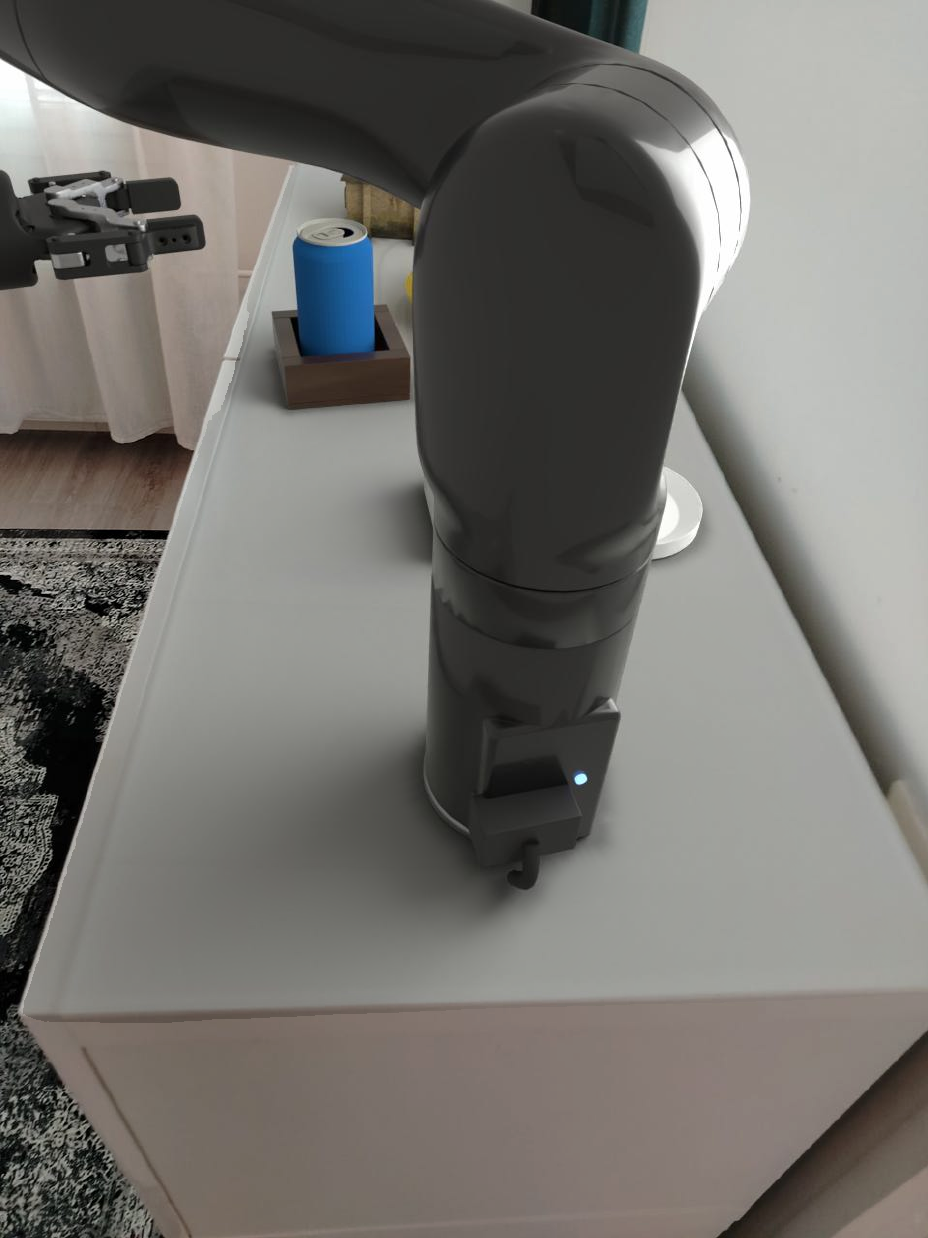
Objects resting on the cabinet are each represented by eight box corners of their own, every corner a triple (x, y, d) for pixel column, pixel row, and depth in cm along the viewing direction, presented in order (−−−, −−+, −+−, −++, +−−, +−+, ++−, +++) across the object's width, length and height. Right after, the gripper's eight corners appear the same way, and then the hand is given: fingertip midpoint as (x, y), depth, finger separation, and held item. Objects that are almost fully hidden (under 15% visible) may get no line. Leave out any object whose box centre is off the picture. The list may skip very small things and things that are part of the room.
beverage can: (389, 371, 80) (389, 233, 72) (331, 393, 77) (323, 251, 69) (345, 344, 83) (339, 210, 75) (287, 364, 80) (274, 226, 72)
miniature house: (461, 248, 104) (466, 140, 96) (340, 239, 104) (336, 131, 96) (468, 204, 115) (473, 104, 107) (359, 196, 115) (356, 96, 107)
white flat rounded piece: (422, 443, 67) (675, 433, 70) (421, 478, 69) (666, 467, 72) (447, 539, 59) (732, 523, 62) (444, 576, 61) (720, 558, 64)
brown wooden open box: (410, 399, 78) (410, 356, 75) (288, 409, 76) (284, 366, 73) (387, 344, 85) (386, 303, 83) (275, 352, 83) (271, 310, 80)
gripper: (-67, 213, 54) (204, 187, 59) (-73, 146, 63) (162, 129, 69) (-26, 332, 59) (220, 298, 64) (-37, 253, 68) (179, 230, 74)
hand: (190, 211), depth 66 cm, fingers open, 8 cm apart
